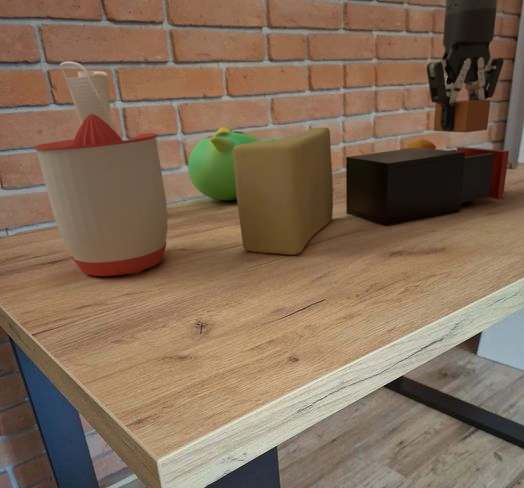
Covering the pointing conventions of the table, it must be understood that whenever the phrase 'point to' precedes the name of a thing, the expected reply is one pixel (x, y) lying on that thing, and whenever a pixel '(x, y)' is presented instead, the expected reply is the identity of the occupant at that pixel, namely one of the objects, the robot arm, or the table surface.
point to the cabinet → (404, 185)
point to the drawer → (484, 173)
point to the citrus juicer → (107, 198)
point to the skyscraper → (90, 93)
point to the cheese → (284, 191)
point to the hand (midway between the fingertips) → (459, 128)
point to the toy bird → (217, 163)
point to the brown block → (466, 116)
